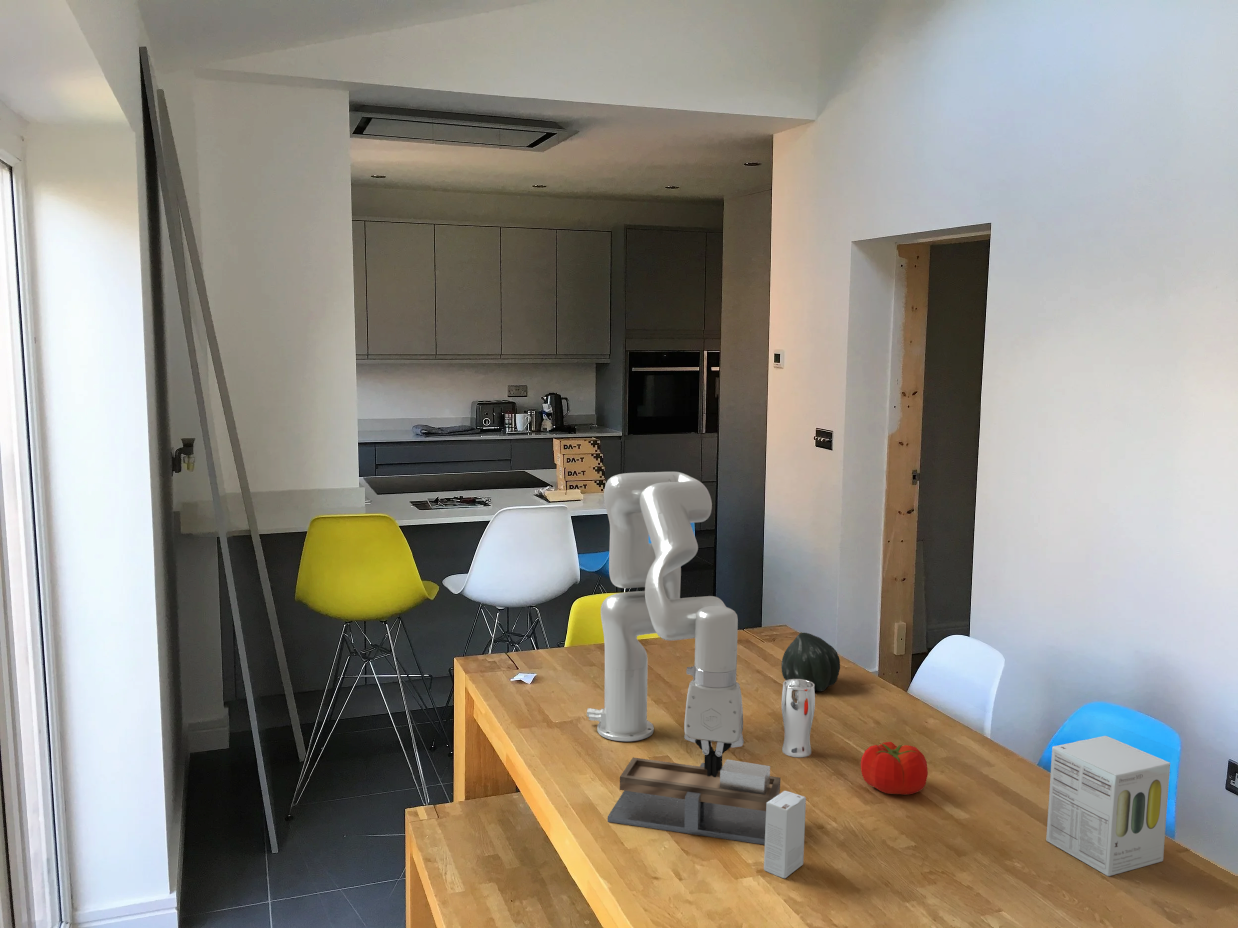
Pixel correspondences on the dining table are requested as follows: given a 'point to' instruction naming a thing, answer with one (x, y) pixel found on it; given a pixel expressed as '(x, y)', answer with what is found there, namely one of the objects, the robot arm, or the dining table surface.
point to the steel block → (745, 777)
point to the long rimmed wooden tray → (689, 784)
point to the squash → (811, 661)
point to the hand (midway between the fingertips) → (713, 773)
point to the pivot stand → (690, 816)
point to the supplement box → (1108, 804)
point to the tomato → (894, 768)
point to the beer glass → (797, 716)
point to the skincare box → (784, 834)
